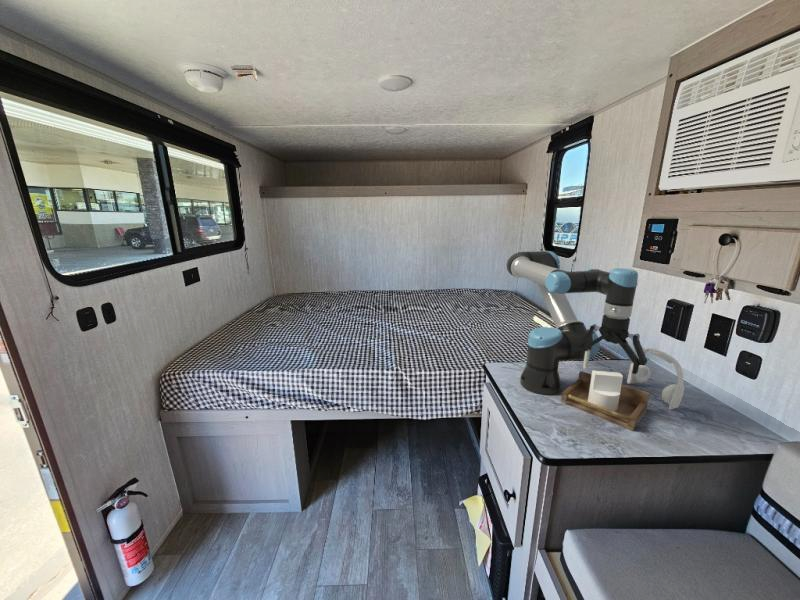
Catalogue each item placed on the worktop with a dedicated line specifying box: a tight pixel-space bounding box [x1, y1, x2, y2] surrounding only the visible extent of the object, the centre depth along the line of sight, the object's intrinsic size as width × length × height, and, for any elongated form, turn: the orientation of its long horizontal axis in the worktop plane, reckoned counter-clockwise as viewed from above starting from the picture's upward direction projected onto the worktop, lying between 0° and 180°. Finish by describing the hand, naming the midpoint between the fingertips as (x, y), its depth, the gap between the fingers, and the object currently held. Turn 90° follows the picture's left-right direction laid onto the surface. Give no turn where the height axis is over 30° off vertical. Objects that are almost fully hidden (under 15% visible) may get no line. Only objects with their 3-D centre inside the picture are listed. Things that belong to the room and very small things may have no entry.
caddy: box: [560, 370, 651, 431], centre depth 112 cm, size 22×16×7 cm
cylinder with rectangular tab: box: [588, 369, 624, 411], centre depth 110 cm, size 9×9×12 cm
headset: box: [626, 347, 686, 411], centre depth 117 cm, size 20×7×18 cm, turn 0°
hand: (606, 374), depth 109 cm, fingers open, 13 cm apart
